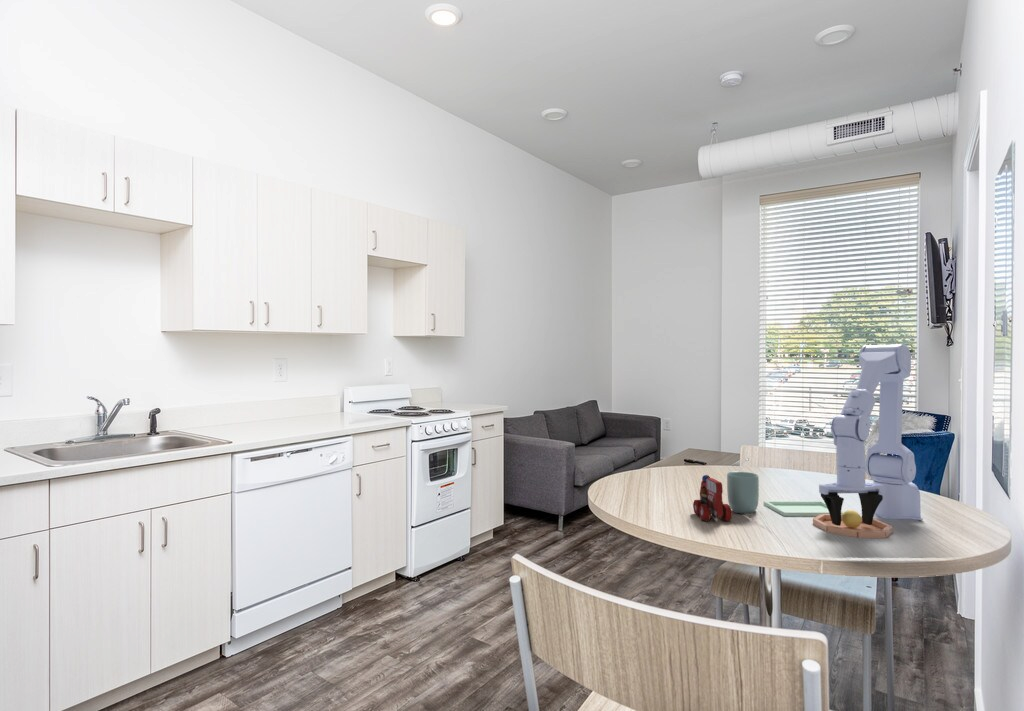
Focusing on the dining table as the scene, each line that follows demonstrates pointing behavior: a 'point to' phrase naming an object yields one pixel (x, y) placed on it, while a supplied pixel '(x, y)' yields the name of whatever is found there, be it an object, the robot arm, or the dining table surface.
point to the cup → (743, 491)
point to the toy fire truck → (711, 501)
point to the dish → (862, 531)
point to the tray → (798, 508)
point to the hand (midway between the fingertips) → (851, 524)
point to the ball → (851, 519)
